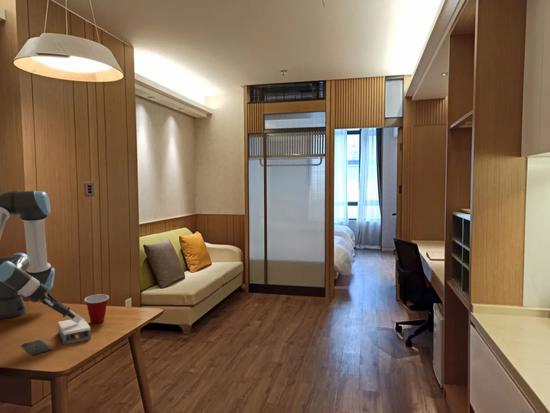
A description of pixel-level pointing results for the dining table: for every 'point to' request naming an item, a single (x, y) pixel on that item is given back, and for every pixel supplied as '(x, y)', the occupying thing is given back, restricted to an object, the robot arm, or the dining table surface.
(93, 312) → the plastic cup
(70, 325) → the block
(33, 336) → the dining table surface
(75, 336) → the cable duct
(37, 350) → the smartphone
